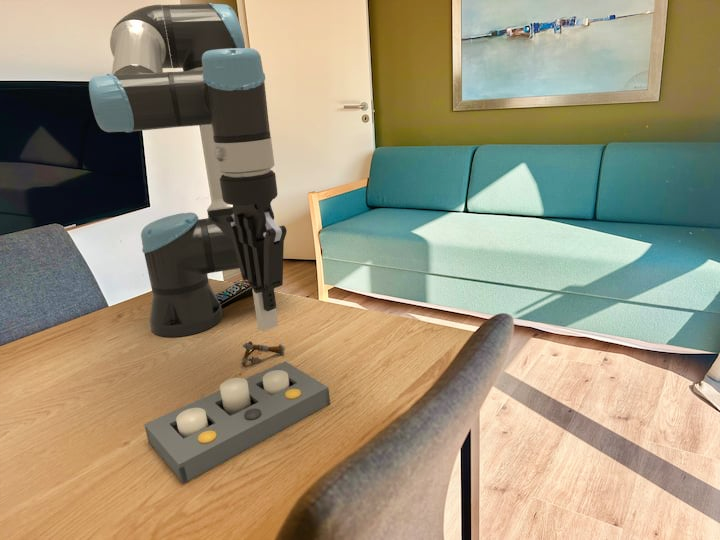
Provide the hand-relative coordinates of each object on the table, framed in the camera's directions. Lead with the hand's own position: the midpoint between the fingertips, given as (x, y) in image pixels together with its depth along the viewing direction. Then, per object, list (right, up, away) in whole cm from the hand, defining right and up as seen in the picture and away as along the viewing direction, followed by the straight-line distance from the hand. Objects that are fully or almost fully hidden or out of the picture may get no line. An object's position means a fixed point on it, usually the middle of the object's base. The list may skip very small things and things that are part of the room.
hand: (268, 326), depth 79 cm
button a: (-9, -15, -5) cm, 19 cm away
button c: (+1, -12, +4) cm, 12 cm away
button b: (-4, -12, -1) cm, 13 cm away
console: (-4, -14, -1) cm, 15 cm away
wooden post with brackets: (-4, -8, +17) cm, 19 cm away
